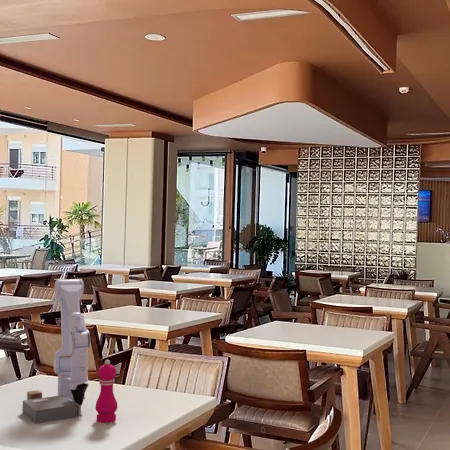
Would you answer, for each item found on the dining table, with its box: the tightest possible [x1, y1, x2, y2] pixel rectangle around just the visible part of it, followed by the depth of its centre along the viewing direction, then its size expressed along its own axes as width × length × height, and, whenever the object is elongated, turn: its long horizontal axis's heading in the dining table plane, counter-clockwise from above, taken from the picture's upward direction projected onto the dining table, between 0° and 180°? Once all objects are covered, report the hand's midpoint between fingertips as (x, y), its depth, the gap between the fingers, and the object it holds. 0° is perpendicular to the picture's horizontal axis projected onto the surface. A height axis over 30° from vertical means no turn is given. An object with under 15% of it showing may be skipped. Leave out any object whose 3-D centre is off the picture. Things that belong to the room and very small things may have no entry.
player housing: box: [22, 395, 78, 424], centre depth 221 cm, size 14×14×4 cm
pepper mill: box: [95, 359, 118, 424], centre depth 216 cm, size 7×7×20 cm
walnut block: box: [26, 389, 43, 400], centre depth 231 cm, size 4×4×5 cm
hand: (78, 405), depth 226 cm, fingers closed
